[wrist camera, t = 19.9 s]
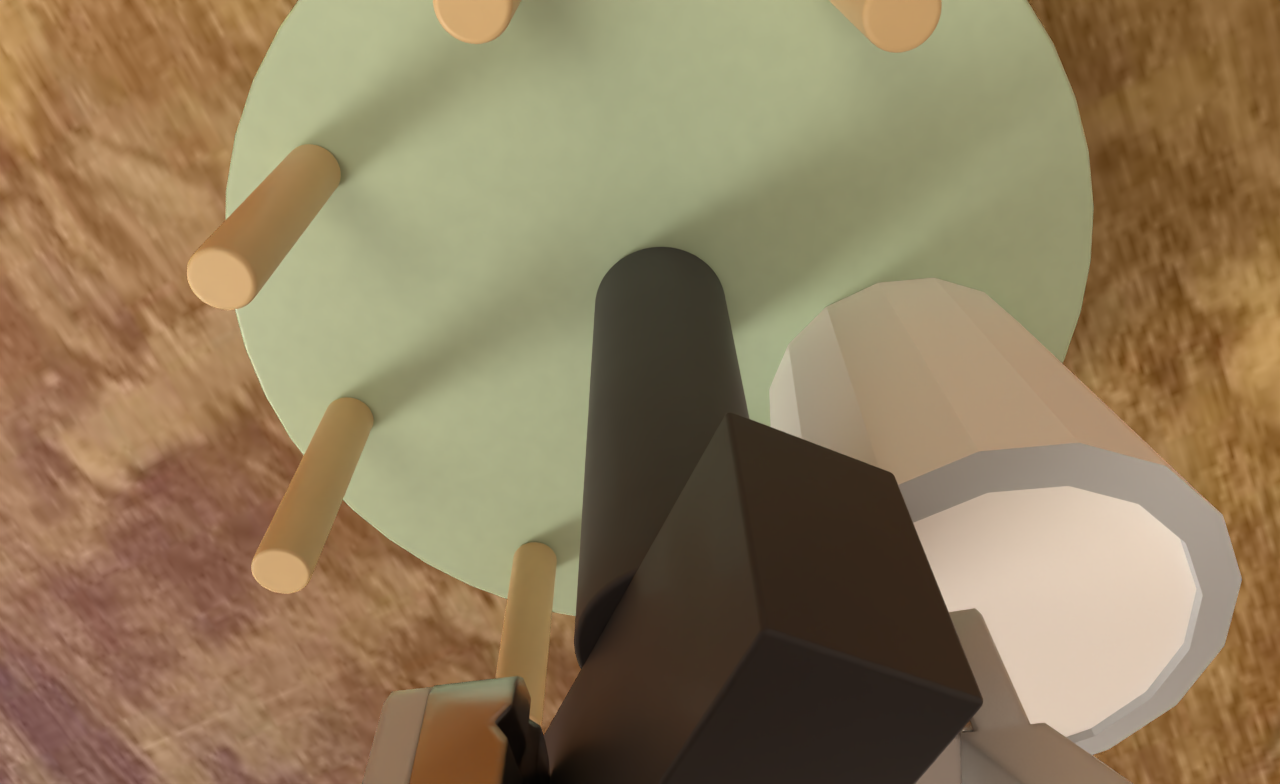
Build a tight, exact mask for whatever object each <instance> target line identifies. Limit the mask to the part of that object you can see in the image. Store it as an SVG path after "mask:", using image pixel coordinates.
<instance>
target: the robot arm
mask: <svg viewBox="0 0 1280 784" xmlns="http://www.w3.org/2000/svg"><path fill="white" fill-rule="evenodd" d="M949 614H950V617H951V619H952V622H953V624H954V627H955V629H956V632H957V634H958V637H959V639H960V642H961V644H962V647H963V649H964V652H965V654H966V657H967V659H968V662H969V664H970V667H971V669H972V672H973V674H974V677H975V679H976V682H977V685H978V687H979V690H980V692H981V695H982V697H983V704H982V707H981V708H980V709H979V710H978V711H977V713H976V714H975V715H974V716H973V717H972V718H971V719H970V721H969V722H968V723H967V724H966V725H965V726H964V728H963V729H962V730H961V731H960V732H959V733H958V735H957V736H956V737H955V738H954V739H953V740H952V742H951V743H950V744H949V745H948V746H947V747H946V749H945V750H944V751H943V752H942V753H941V754H940V756H939V757H938V758H937V759H936V760H935V761H934V763H933V764H932V765H931V766H930V767H929V768H928V769H927V771H926V772H925V773H924V774H923V775H922V776H921V778H920V779H919V780H918V781H917V782H916V783H915V784H1133V783H1132V782H1130V781H1129V780H1127V779H1126V778H1124V777H1123V776H1121V775H1120V774H1119V773H1117V772H1116V771H1114V770H1113V769H1111V768H1110V767H1108V766H1107V765H1106V764H1104V763H1103V762H1101V761H1100V760H1098V759H1097V758H1095V757H1094V756H1093V755H1091V754H1090V753H1088V752H1087V751H1085V750H1084V749H1082V748H1081V747H1079V746H1078V745H1077V744H1075V743H1074V742H1072V741H1071V740H1069V739H1068V738H1066V737H1065V736H1064V735H1062V734H1061V733H1059V732H1058V731H1056V730H1055V729H1053V728H1052V727H1051V726H1049V725H1048V724H1046V723H1036V724H1030V722H1029V720H1028V717H1027V715H1026V713H1025V711H1024V708H1023V706H1022V704H1021V702H1020V699H1019V697H1018V695H1017V693H1016V690H1015V688H1014V686H1013V684H1012V681H1011V679H1010V677H1009V675H1008V672H1007V670H1006V668H1005V666H1004V663H1003V661H1002V659H1001V657H1000V654H999V652H998V650H997V648H996V645H995V643H994V641H993V639H992V636H991V634H990V632H989V629H988V627H987V625H986V623H985V620H984V618H983V616H982V614H981V613H980V612H979V611H978V610H976V609H975V608H973V609H966V610H960V611H953V612H949ZM530 706H531V697H530V694H529V691H528V689H527V686H526V684H525V681H524V678H522V677H519V676H513V677H504V678H496V679H487V680H479V681H470V682H462V683H453V684H445V685H436V686H434V687H427V688H419V689H410V690H401V691H392V692H391V694H390V695H389V696H388V698H387V699H386V701H385V702H384V704H383V707H382V711H381V715H380V718H379V722H378V726H377V729H376V733H375V737H374V740H373V744H372V748H371V751H370V755H369V759H368V762H367V766H366V770H365V774H364V777H363V781H362V784H550V766H549V757H548V752H547V747H546V742H545V738H544V735H543V732H542V729H541V726H540V725H539V724H537V723H535V722H534V721H532V720H531V719H529V716H530Z"/></svg>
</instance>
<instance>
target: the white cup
mask: <svg viewBox="0 0 1280 784" xmlns="http://www.w3.org/2000/svg"><path fill="white" fill-rule="evenodd" d="M769 399H770V426H771V427H772V428H775V429H777V430H780V431H783V432H785V433H788V434H791V435H793V436H796V437H799V438H801V439H804V440H807V441H809V442H812V443H815V444H817V445H820V446H822V447H825V448H828V449H830V450H833V451H836V452H838V453H841V454H844V455H846V456H849V457H852V458H854V459H857V460H860V461H862V462H865V463H868V464H870V465H873V466H875V467H878V468H881V469H883V470H886V471H889V472H891V473H892V474H893V475H894V476H895V478H896V481H897V483H898V486H899V488H900V491H901V493H902V496H903V498H904V501H905V504H906V506H907V509H908V511H909V514H910V516H911V519H912V521H913V524H914V526H915V529H916V531H917V534H918V536H919V539H920V541H921V544H922V546H923V549H924V551H925V554H926V556H927V559H928V561H929V564H930V566H931V569H932V571H933V574H934V576H935V579H936V581H937V584H938V586H939V589H940V592H941V594H942V597H943V599H944V602H945V604H946V607H947V609H948V612H953V611H960V610H966V609H973V608H975V609H976V610H978V611H979V612H980V613H981V614H982V616H983V618H984V620H985V623H986V625H987V627H988V629H989V632H990V634H991V636H992V639H993V641H994V643H995V645H996V648H997V650H998V652H999V654H1000V657H1001V659H1002V661H1003V663H1004V666H1005V668H1006V670H1007V672H1008V675H1009V677H1010V679H1011V681H1012V684H1013V686H1014V688H1015V690H1016V693H1017V695H1018V697H1019V699H1020V702H1021V704H1022V706H1023V708H1024V711H1025V713H1026V715H1027V717H1028V720H1029V722H1030V724H1036V723H1046V724H1048V725H1049V726H1051V727H1052V728H1053V729H1055V730H1056V731H1058V732H1059V733H1061V734H1062V735H1064V736H1065V737H1066V738H1068V739H1069V740H1071V741H1072V742H1074V743H1075V744H1077V745H1078V746H1079V747H1081V748H1082V749H1084V750H1085V751H1087V752H1088V753H1090V754H1091V755H1093V754H1096V753H1099V752H1102V751H1105V750H1108V749H1110V748H1112V747H1113V746H1115V745H1116V744H1118V743H1119V742H1121V741H1122V740H1124V739H1125V738H1127V737H1128V736H1130V735H1131V734H1133V733H1134V732H1136V731H1137V730H1139V729H1140V728H1142V727H1144V726H1145V725H1147V724H1148V723H1150V722H1151V721H1153V720H1154V719H1156V718H1157V717H1159V716H1160V715H1162V714H1163V713H1165V712H1166V711H1168V710H1169V709H1171V708H1172V707H1174V706H1176V705H1177V704H1178V702H1179V701H1180V700H1181V699H1182V697H1183V696H1184V695H1185V694H1186V693H1187V691H1188V690H1189V689H1190V688H1191V686H1192V685H1193V684H1194V683H1195V681H1196V680H1197V679H1198V678H1199V676H1200V675H1201V674H1202V673H1203V671H1204V670H1205V669H1206V668H1207V666H1208V665H1209V664H1210V663H1211V662H1212V660H1213V659H1214V658H1215V657H1216V655H1217V654H1218V653H1219V652H1220V650H1221V649H1222V648H1223V647H1224V645H1225V641H1226V637H1227V633H1228V630H1229V626H1230V622H1231V618H1232V615H1233V611H1234V607H1235V603H1236V600H1237V596H1238V592H1239V589H1240V585H1241V581H1242V578H1241V574H1240V571H1239V568H1238V564H1237V561H1236V558H1235V554H1234V551H1233V547H1232V544H1231V541H1230V537H1229V534H1228V531H1227V527H1226V524H1225V521H1224V517H1223V515H1222V514H1221V513H1220V512H1219V511H1218V510H1217V509H1216V508H1215V507H1214V506H1213V505H1212V504H1211V503H1209V502H1208V501H1207V500H1206V499H1205V498H1204V497H1203V496H1202V495H1201V494H1200V493H1199V492H1198V491H1197V490H1196V489H1195V488H1194V487H1193V486H1191V485H1190V484H1189V483H1188V482H1187V481H1186V480H1185V479H1184V478H1183V477H1182V476H1181V475H1180V474H1179V473H1178V472H1177V471H1176V470H1175V469H1173V468H1172V467H1171V466H1170V465H1169V464H1168V463H1167V462H1166V461H1165V460H1164V459H1163V458H1162V457H1161V456H1160V455H1159V454H1158V453H1157V452H1156V451H1154V450H1153V449H1152V448H1151V447H1150V446H1149V445H1148V444H1147V443H1146V442H1145V441H1144V440H1143V439H1142V438H1141V437H1140V436H1139V435H1138V434H1136V433H1135V432H1134V431H1133V430H1132V429H1131V428H1130V427H1129V426H1128V425H1127V424H1126V423H1125V422H1124V421H1123V420H1122V419H1121V418H1120V417H1118V416H1117V415H1116V414H1115V413H1114V412H1113V411H1112V410H1111V409H1110V408H1109V407H1108V406H1107V405H1106V404H1105V403H1104V402H1103V401H1102V400H1101V399H1099V398H1098V397H1097V396H1096V395H1095V394H1094V393H1093V392H1092V391H1091V390H1090V389H1089V388H1088V387H1087V386H1086V385H1085V384H1084V383H1083V382H1081V381H1080V380H1079V379H1078V378H1077V377H1076V376H1075V375H1074V374H1073V373H1072V372H1071V371H1070V370H1069V369H1068V368H1067V367H1066V366H1065V365H1064V364H1062V363H1061V362H1060V361H1059V360H1058V359H1057V358H1056V357H1055V356H1054V355H1053V354H1052V353H1051V352H1050V351H1049V350H1048V349H1047V348H1046V347H1044V346H1043V345H1042V344H1041V343H1040V342H1039V341H1038V340H1037V339H1036V338H1035V337H1034V336H1033V335H1032V334H1031V333H1030V332H1029V331H1028V330H1026V329H1025V328H1024V327H1023V326H1022V325H1021V324H1020V323H1019V322H1018V321H1017V320H1016V319H1014V318H1013V317H1012V316H1011V315H1010V314H1009V313H1008V312H1006V311H1005V310H1004V309H1003V308H1002V307H1001V306H1000V305H998V304H997V303H996V302H995V301H994V300H993V299H992V298H990V297H989V296H988V295H987V294H986V293H985V292H982V291H979V290H975V289H972V288H968V287H965V286H961V285H958V284H955V283H951V282H948V281H944V280H941V279H937V278H923V279H912V280H902V281H891V282H880V283H876V284H874V285H872V286H870V287H868V288H865V289H863V290H861V291H859V292H857V293H855V294H852V295H850V296H848V297H846V298H844V299H842V300H840V301H837V302H835V303H833V304H831V305H829V306H827V307H825V308H824V309H823V310H822V311H821V312H820V313H819V314H818V315H817V316H816V317H815V318H814V319H813V320H812V321H811V322H810V323H809V324H808V325H807V326H806V327H805V328H804V329H803V330H802V331H801V332H800V333H799V334H798V335H797V336H796V337H795V338H794V339H793V340H792V341H791V342H790V343H789V344H788V346H787V349H786V351H785V353H784V356H783V358H782V360H781V363H780V365H779V367H778V370H777V372H776V374H775V377H774V379H773V381H772V384H771V386H770V388H769Z"/></svg>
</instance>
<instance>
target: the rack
mask: <svg viewBox="0 0 1280 784" xmlns="http://www.w3.org/2000/svg"><path fill="white" fill-rule="evenodd" d="M1093 209H1094V204H1093V193H1092V182H1091V171H1090V160H1089V150H1088V146H1087V142H1086V138H1085V134H1084V130H1083V126H1082V122H1081V118H1080V114H1079V109H1078V105H1077V101H1076V97H1075V94H1074V92H1073V90H1072V87H1071V85H1070V82H1069V80H1068V77H1067V75H1066V73H1065V70H1064V68H1063V65H1062V63H1061V60H1060V58H1059V56H1058V53H1057V51H1056V48H1055V46H1054V44H1053V42H1052V40H1051V38H1050V37H1049V35H1048V33H1047V32H1046V30H1045V28H1044V27H1043V25H1042V23H1041V22H1040V20H1039V19H1038V17H1037V15H1036V14H1035V12H1034V10H1033V9H1032V7H1031V5H1030V4H1029V2H1028V0H298V1H297V3H296V4H295V6H294V7H293V9H292V10H291V11H290V13H289V14H288V16H287V17H286V18H285V20H284V21H283V23H282V24H281V26H280V27H279V29H278V31H277V33H276V35H275V37H274V39H273V41H272V43H271V45H270V47H269V49H268V51H267V53H266V55H265V57H264V59H263V61H262V63H261V65H260V67H259V69H258V71H257V73H256V75H255V77H254V79H253V81H252V85H251V88H250V91H249V94H248V97H247V100H246V103H245V106H244V109H243V113H242V116H241V119H240V122H239V125H238V128H237V131H236V134H235V139H234V145H233V151H232V157H231V163H230V169H229V175H228V181H227V188H226V217H225V221H224V222H223V223H222V224H221V226H220V227H219V228H218V229H217V230H216V231H215V232H214V233H213V234H212V235H211V236H210V237H209V238H208V239H207V240H206V241H205V242H204V243H203V244H202V245H201V246H200V247H199V249H198V250H197V251H196V252H195V253H194V254H193V255H192V256H191V258H190V259H189V262H188V265H187V278H188V282H189V285H190V287H191V289H192V291H193V292H194V293H195V295H196V296H197V297H198V298H199V299H200V300H202V301H203V302H204V303H206V304H208V305H210V306H212V307H214V308H218V309H222V310H234V309H235V312H236V316H237V319H238V323H239V327H240V330H241V334H242V338H243V341H244V345H245V349H246V351H247V353H248V356H249V358H250V361H251V363H252V365H253V368H254V370H255V372H256V375H257V377H258V379H259V382H260V384H261V386H262V389H263V391H264V394H265V396H266V397H267V399H268V401H269V402H270V404H271V406H272V408H273V409H274V411H275V413H276V414H277V416H278V418H279V420H280V421H281V423H282V425H283V426H284V428H285V430H286V431H287V433H288V435H289V437H290V438H291V439H292V441H293V442H294V443H295V445H296V446H297V447H298V448H299V450H300V451H301V452H302V454H303V455H304V456H303V458H302V460H301V462H300V464H299V466H298V468H297V470H296V472H295V474H294V476H293V478H292V480H291V482H290V484H289V486H288V489H287V491H286V493H285V495H284V497H283V499H282V501H281V503H280V505H279V507H278V509H277V511H276V513H275V515H274V517H273V519H272V521H271V523H270V525H269V527H268V529H267V531H266V533H265V535H264V537H263V539H262V541H261V543H260V545H259V547H258V549H257V551H256V553H255V555H254V558H253V560H252V563H251V569H252V574H253V576H254V578H255V579H256V581H257V582H258V583H259V584H260V585H261V586H263V587H264V588H266V589H268V590H270V591H273V592H276V593H283V594H288V593H294V592H297V591H299V590H301V589H303V588H304V587H305V586H306V585H307V584H308V583H309V581H310V579H311V577H312V574H313V572H314V569H315V567H316V564H317V562H318V559H319V557H320V555H321V552H322V550H323V547H324V545H325V542H326V540H327V537H328V535H329V532H330V530H331V527H332V525H333V522H334V520H335V518H336V515H337V513H338V510H339V508H340V505H341V503H342V500H344V501H345V502H346V503H347V504H348V505H349V506H350V507H351V508H352V510H354V511H355V512H356V513H357V514H359V515H360V516H361V517H362V518H364V519H365V520H366V521H367V522H368V523H370V524H371V525H372V526H373V527H375V528H376V529H377V530H378V531H380V532H381V533H382V534H383V535H384V536H386V537H387V538H388V539H389V540H391V541H393V542H394V543H396V544H397V545H399V546H400V547H402V548H403V549H405V550H407V551H408V552H410V553H411V554H413V555H414V556H416V557H418V558H419V559H421V560H422V561H424V562H425V563H427V564H428V565H430V566H432V567H434V568H436V569H438V570H440V571H442V572H444V573H446V574H448V575H450V576H452V577H454V578H456V579H458V580H460V581H462V582H464V583H467V584H469V585H471V586H473V587H476V588H479V589H481V590H484V591H487V592H489V593H492V594H495V595H497V596H500V597H503V598H505V599H507V604H506V611H505V618H504V624H503V631H502V638H501V644H500V651H499V658H498V665H497V671H496V678H504V677H513V676H519V677H522V678H524V681H525V684H526V686H527V689H528V691H529V694H530V697H531V706H530V716H529V719H531V720H532V721H534V722H535V723H537V724H539V725H540V726H541V729H542V718H543V707H544V696H545V685H546V674H547V663H548V652H549V641H550V630H551V620H552V612H555V613H560V614H566V615H573V616H576V618H575V635H574V646H575V654H576V657H577V661H578V664H579V666H580V668H581V671H580V673H579V674H578V676H577V678H576V680H575V682H574V683H573V685H572V687H571V689H570V690H569V692H568V694H567V696H566V697H565V699H564V701H563V703H562V705H561V706H560V708H559V710H558V712H557V713H556V715H555V717H554V719H553V720H552V722H551V724H550V726H549V728H548V729H547V731H546V733H545V735H544V738H545V742H546V747H547V752H548V757H549V766H550V784H915V783H916V782H917V781H918V780H919V779H920V778H921V776H922V775H923V774H924V773H925V772H926V771H927V769H928V768H929V767H930V766H931V765H932V764H933V763H934V761H935V760H936V759H937V758H938V757H939V756H940V754H941V753H942V752H943V751H944V750H945V749H946V747H947V746H948V745H949V744H950V743H951V742H952V740H953V739H954V738H955V737H956V736H957V735H958V733H959V732H960V731H961V730H962V729H963V728H964V726H965V725H966V724H967V723H968V722H969V721H970V719H971V718H972V717H973V716H974V715H975V714H976V713H977V711H978V710H979V709H980V708H981V707H982V704H983V697H982V695H981V692H980V690H979V687H978V685H977V682H976V679H975V677H974V674H973V672H972V669H971V667H970V664H969V662H968V659H967V657H966V654H965V652H964V649H963V647H962V644H961V642H960V639H959V637H958V634H957V632H956V629H955V627H954V624H953V622H952V619H951V617H950V614H949V612H948V609H947V607H946V604H945V602H944V599H943V597H942V594H941V592H940V589H939V586H938V584H937V581H936V579H935V576H934V574H933V571H932V569H931V566H930V564H929V561H928V559H927V556H926V554H925V551H924V549H923V546H922V544H921V541H920V539H919V536H918V534H917V531H916V529H915V526H914V524H913V521H912V519H911V516H910V514H909V511H908V509H907V506H906V504H905V501H904V498H903V496H902V493H901V491H900V488H899V486H898V483H897V481H896V478H895V476H894V475H893V474H892V473H891V472H889V471H886V470H883V469H881V468H878V467H875V466H873V465H870V464H868V463H865V462H862V461H860V460H857V459H854V458H852V457H849V456H846V455H844V454H841V453H838V452H836V451H833V450H830V449H828V448H825V447H822V446H820V445H817V444H815V443H812V442H809V441H807V440H804V439H801V438H799V437H796V436H793V435H791V434H788V433H785V432H783V431H780V430H777V429H775V428H772V427H771V426H770V399H769V388H770V386H771V384H772V381H773V379H774V377H775V374H776V372H777V370H778V367H779V365H780V363H781V360H782V358H783V356H784V353H785V351H786V349H787V346H788V344H789V343H790V342H791V341H792V340H793V339H794V338H795V337H796V336H797V335H798V334H799V333H800V332H801V331H802V330H803V329H804V328H805V327H806V326H807V325H808V324H809V323H810V322H811V321H812V320H813V319H814V318H815V317H816V316H817V315H818V314H819V313H820V312H821V311H822V310H823V309H824V308H825V307H827V306H829V305H831V304H833V303H835V302H837V301H840V300H842V299H844V298H846V297H848V296H850V295H852V294H855V293H857V292H859V291H861V290H863V289H865V288H868V287H870V286H872V285H874V284H876V283H880V282H891V281H902V280H912V279H923V278H937V279H941V280H944V281H948V282H951V283H955V284H958V285H961V286H965V287H968V288H972V289H975V290H979V291H982V292H985V293H986V294H987V295H988V296H989V297H990V298H992V299H993V300H994V301H995V302H996V303H997V304H998V305H1000V306H1001V307H1002V308H1003V309H1004V310H1005V311H1006V312H1008V313H1009V314H1010V315H1011V316H1012V317H1013V318H1014V319H1016V320H1017V321H1018V322H1019V323H1020V324H1021V325H1022V326H1023V327H1024V328H1025V329H1026V330H1028V331H1029V332H1030V333H1031V334H1032V335H1033V336H1034V337H1035V338H1036V339H1037V340H1038V341H1039V342H1040V343H1041V344H1042V345H1043V346H1044V347H1046V348H1047V349H1048V350H1049V351H1050V352H1051V353H1052V354H1053V355H1054V356H1055V357H1056V358H1057V359H1058V360H1059V361H1060V362H1061V363H1062V364H1063V362H1064V359H1065V356H1066V353H1067V350H1068V347H1069V345H1070V342H1071V339H1072V336H1073V333H1074V330H1075V327H1076V324H1077V321H1078V318H1079V315H1080V312H1081V308H1082V302H1083V297H1084V292H1085V287H1086V282H1087V277H1088V272H1089V267H1090V262H1091V246H1092V228H1093ZM496 678H495V679H496Z"/></svg>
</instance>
